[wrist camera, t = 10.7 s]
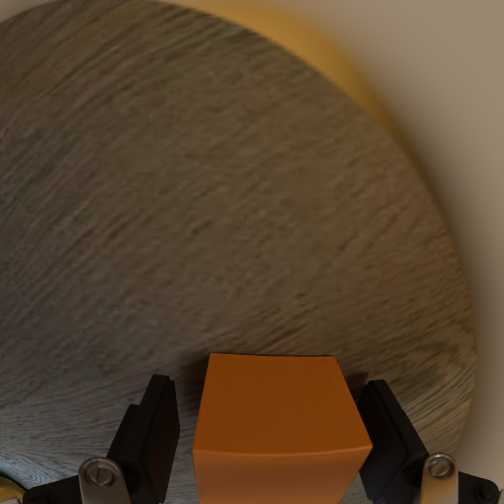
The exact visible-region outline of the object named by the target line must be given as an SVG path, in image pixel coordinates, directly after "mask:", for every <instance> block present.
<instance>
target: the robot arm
mask: <svg viewBox="0 0 504 504" xmlns="http://www.w3.org/2000/svg"><path fill="white" fill-rule="evenodd" d="M356 407H357V409H358V412H359V414H360V416H361V419H362V421H363V423H364V426H365V428H366V430H367V433H368V435H369V438H370V440H371V442H372V449H371V451H370V453H369V455H368V456H367V458H366V460H365V462H364V463H363V465H362V467H361V468H360V470H359V474H360V477H361V480H362V483H363V486H364V489H365V492H366V495H367V498H368V499H369V500H372V502H373V504H383V503H385V504H504V490H503V489H502V490H501V491H499V489H498V487H497V485H496V484H495V483H494V482H492V481H490V480H487V479H483V478H480V477H476V476H473V475H469V474H466V473H463V472H460V471H458V466H457V463H456V461H455V460H454V458H452V457H451V456H450V455H448V454H445V453H434V454H431V455H429V453H428V451H427V450H426V448H425V446H424V444H423V443H422V441H421V439H420V437H419V436H418V434H417V432H416V430H415V429H414V427H413V425H412V423H411V422H410V420H409V418H408V417H407V415H406V413H405V412H404V410H403V409H402V408H401V406H400V404H399V403H398V401H397V399H396V398H395V396H394V394H393V393H392V391H391V389H390V388H389V386H388V385H387V383H386V381H385V380H383V379H382V380H372V381H369V382H368V384H367V385H364V387H363V390H362V393H361V396H360V398H359V401H358V404H357V406H356ZM179 435H180V424H179V417H178V409H177V400H176V391H175V382H174V381H173V380H170V378H169V376H164V375H157V374H153V376H152V378H151V380H150V382H149V385H148V387H147V389H146V392H145V394H144V396H143V399H142V401H141V403H140V405H135V404H131V405H130V406H129V407H128V409H127V411H126V413H125V416H124V418H123V420H122V422H121V424H120V427H119V429H118V431H117V433H116V435H115V438H114V440H113V442H112V444H111V447H110V449H109V451H108V454H107V456H106V458H105V457H94V458H90V459H88V460H86V461H84V462H83V463H82V464H81V466H80V468H79V473H78V475H76V476H73V477H70V478H66V479H63V480H59V481H56V482H52V483H48V484H44V485H40V486H36V487H33V488H30V489H28V490H27V491H26V492H25V493H24V495H23V498H21V499H18V498H17V497H13V498H9V499H5V500H1V501H0V504H159V503H162V504H163V503H164V501H165V497H166V492H167V488H168V483H169V479H170V474H171V470H172V465H173V461H174V456H175V452H176V448H177V443H178V439H179Z"/></svg>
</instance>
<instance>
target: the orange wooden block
mask: <svg viewBox="0 0 504 504" xmlns="http://www.w3.org/2000/svg"><path fill="white" fill-rule="evenodd" d="M371 449H372V442H371V440H370V438H369V435H368V433H367V430H366V428H365V426H364V423H363V421H362V419H361V416H360V414H359V412H358V409H357V407H356V405H355V402H354V400H353V398H352V395H351V393H350V391H349V388H348V386H347V384H346V382H345V379H344V377H343V375H342V373H341V370H340V368H339V366H338V364H337V361H336V359H335V357H333V356H316V357H297V356H258V355H238V354H223V353H211V354H210V358H209V363H208V368H207V373H206V378H205V383H204V388H203V393H202V398H201V404H200V409H199V414H198V420H197V425H196V430H195V436H194V441H193V447H192V455H193V462H194V470H195V477H196V483H197V490H198V496H199V502H200V504H338V502H339V501H340V499H341V498H342V497H343V495H344V494H345V492H346V491H347V489H348V488H349V486H350V485H351V483H352V481H353V480H354V478H355V477H356V475H357V473H358V472H359V470H360V468H361V467H362V465H363V463H364V462H365V460H366V458H367V456H368V455H369V453H370V451H371Z"/></svg>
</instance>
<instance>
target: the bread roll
mask: <svg viewBox="0 0 504 504" xmlns="http://www.w3.org/2000/svg"><path fill="white" fill-rule="evenodd" d="M25 492H26V491H25V490H24V489H22V488H21V487H19V486H18V485H17V484H16V483H14V482H13V481H11V480H10V479H6V478H4V477H1V476H0V501H1V500H5V499H9V498H13V497H17V498H18V499H21V498H23V495H24V493H25Z"/></svg>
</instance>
